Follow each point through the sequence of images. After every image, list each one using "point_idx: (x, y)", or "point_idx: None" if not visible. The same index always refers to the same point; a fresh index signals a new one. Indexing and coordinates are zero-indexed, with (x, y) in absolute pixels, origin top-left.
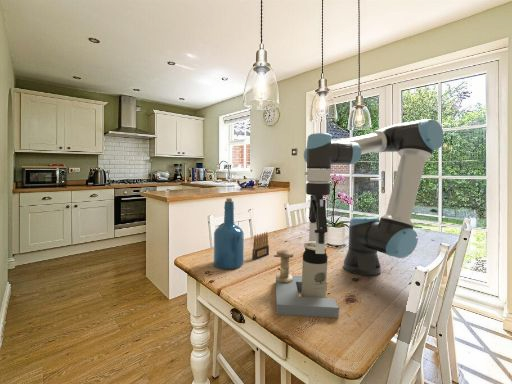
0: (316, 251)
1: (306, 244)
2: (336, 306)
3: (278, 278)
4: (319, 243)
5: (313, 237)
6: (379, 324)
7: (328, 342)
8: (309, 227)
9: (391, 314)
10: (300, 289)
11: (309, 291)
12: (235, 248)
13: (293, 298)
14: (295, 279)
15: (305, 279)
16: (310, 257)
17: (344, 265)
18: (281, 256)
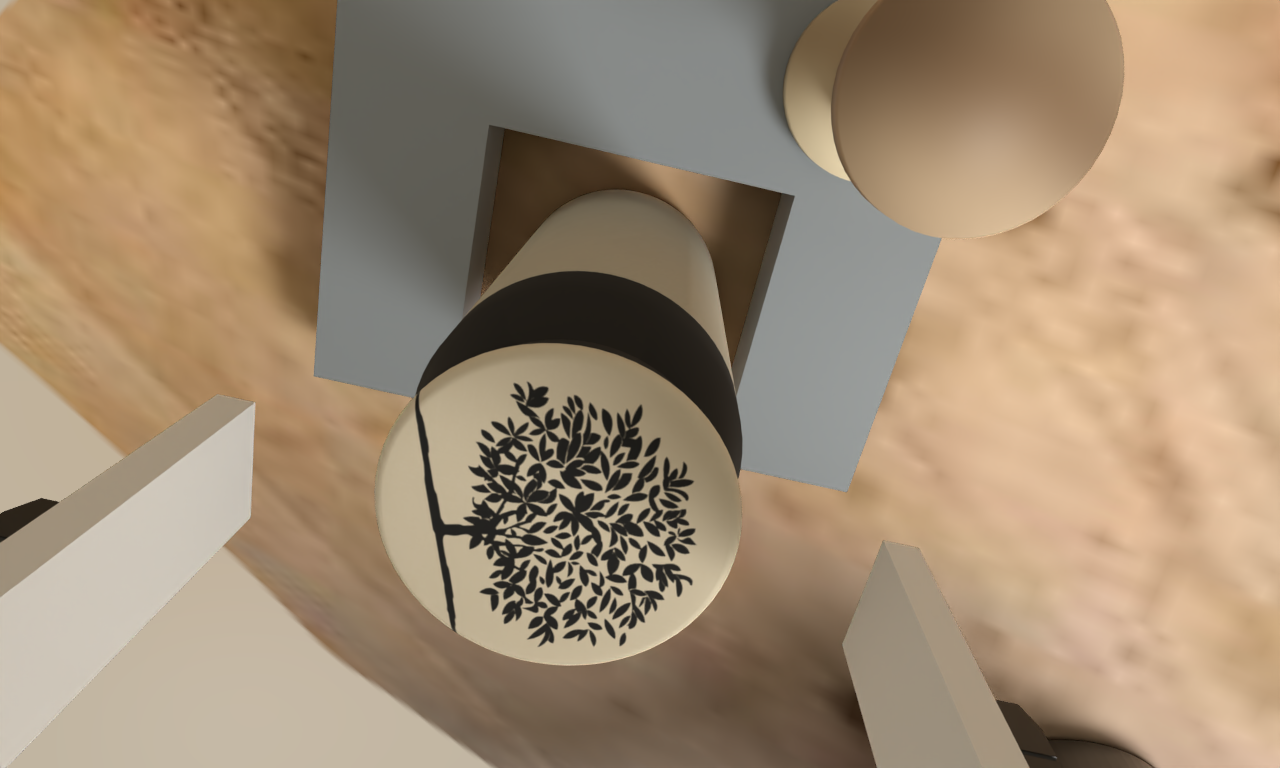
0: (199, 416)
1: (632, 410)
2: (332, 367)
3: (848, 2)
4: (36, 508)
5: (878, 638)
6: (282, 543)
7: (73, 168)
8: (1005, 728)
9: (386, 657)
10: (772, 229)
11: (526, 242)
12: None
13: (457, 61)
14: (844, 209)
15: (548, 235)
16: (448, 347)
17: (1101, 760)
18: (876, 6)
